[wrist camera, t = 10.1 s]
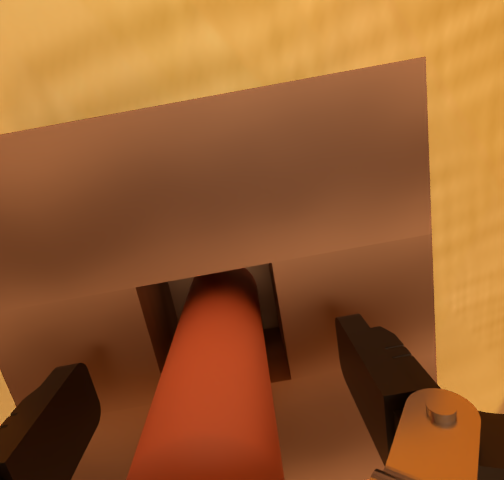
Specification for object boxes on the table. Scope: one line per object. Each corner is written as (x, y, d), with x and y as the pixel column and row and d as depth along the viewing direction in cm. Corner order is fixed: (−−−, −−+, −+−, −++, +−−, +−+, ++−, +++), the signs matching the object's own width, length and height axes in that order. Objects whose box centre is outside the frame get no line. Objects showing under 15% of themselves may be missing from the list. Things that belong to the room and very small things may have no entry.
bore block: (10, 150, 15) (-95, 152, 10) (365, 85, 15) (425, 56, 10) (112, 436, 19) (71, 531, 15) (389, 387, 19) (439, 466, 15)
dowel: (183, 267, 16) (101, 452, 6) (251, 255, 16) (273, 422, 6) (198, 327, 17) (146, 572, 7) (262, 316, 17) (296, 546, 7)
